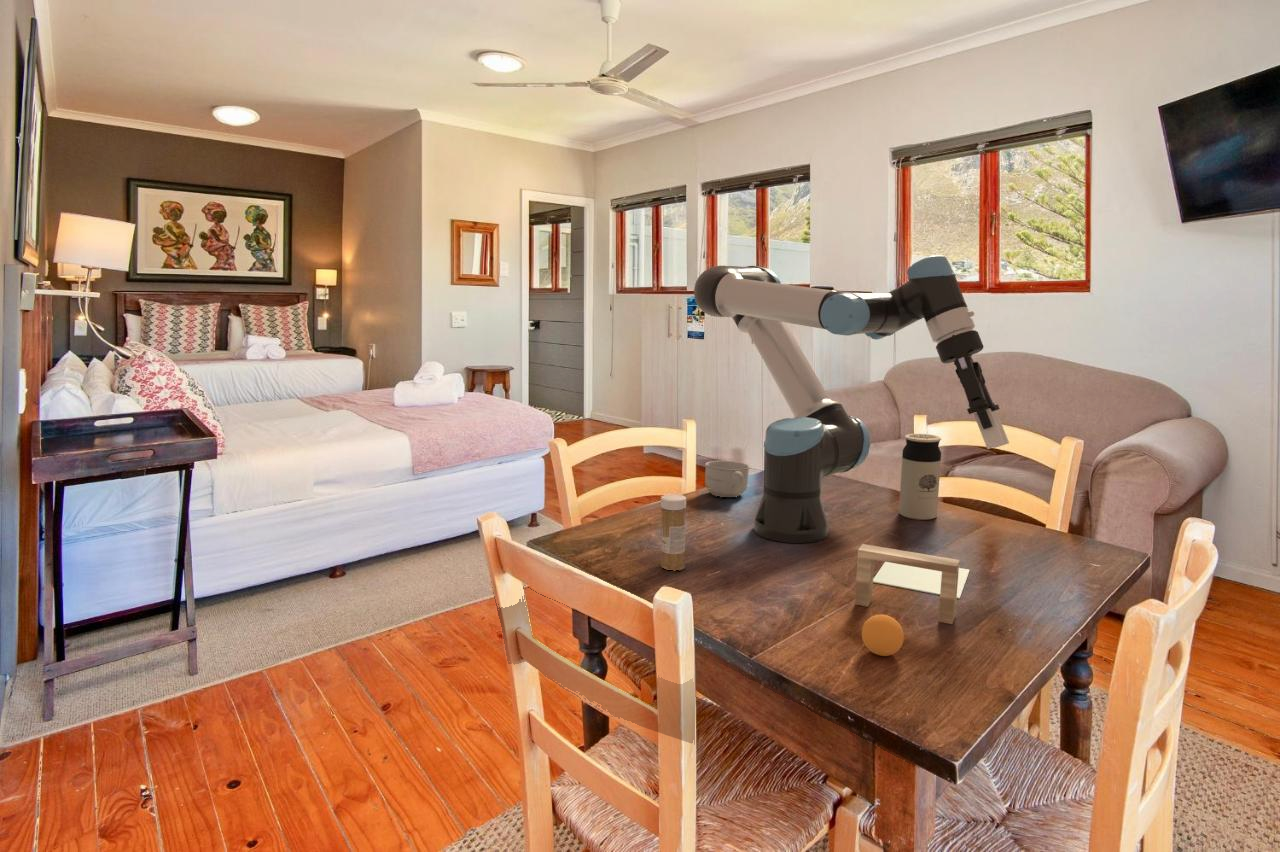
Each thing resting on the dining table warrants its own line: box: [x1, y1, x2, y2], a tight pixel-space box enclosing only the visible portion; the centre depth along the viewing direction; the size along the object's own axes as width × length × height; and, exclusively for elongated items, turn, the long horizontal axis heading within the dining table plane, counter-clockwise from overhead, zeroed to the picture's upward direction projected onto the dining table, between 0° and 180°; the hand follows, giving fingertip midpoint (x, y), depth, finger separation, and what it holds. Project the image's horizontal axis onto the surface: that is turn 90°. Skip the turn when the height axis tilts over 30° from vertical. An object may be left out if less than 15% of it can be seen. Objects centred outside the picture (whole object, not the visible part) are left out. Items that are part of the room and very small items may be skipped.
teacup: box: [704, 460, 750, 498], centre depth 177 cm, size 14×11×8 cm
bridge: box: [854, 543, 960, 625], centre depth 113 cm, size 3×14×9 cm, turn 59°
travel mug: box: [898, 433, 942, 521], centre depth 161 cm, size 8×8×18 cm
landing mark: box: [873, 562, 971, 600], centre depth 127 cm, size 14×14×1 cm
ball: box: [861, 613, 905, 657], centre depth 100 cm, size 6×6×6 cm
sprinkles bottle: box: [660, 493, 687, 572], centre depth 131 cm, size 5×5×14 cm
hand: (999, 446), depth 129 cm, fingers open, 13 cm apart
